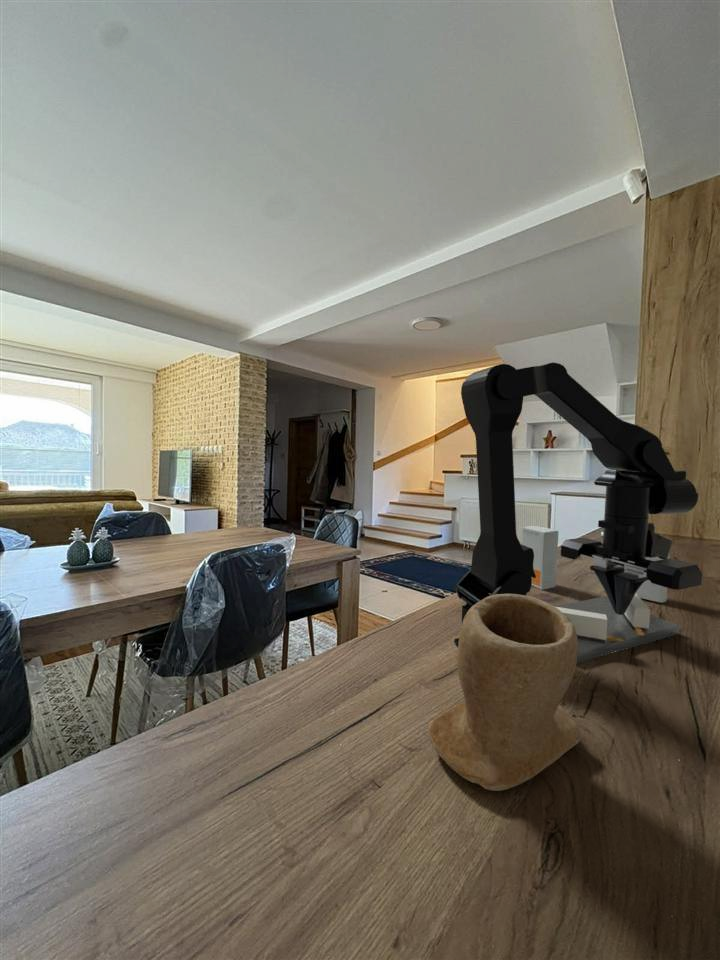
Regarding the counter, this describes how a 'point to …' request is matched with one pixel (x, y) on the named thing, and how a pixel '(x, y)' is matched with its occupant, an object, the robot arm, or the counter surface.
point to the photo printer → (652, 588)
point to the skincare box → (542, 554)
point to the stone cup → (509, 692)
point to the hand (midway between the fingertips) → (619, 613)
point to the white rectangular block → (587, 623)
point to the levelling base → (617, 630)
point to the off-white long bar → (638, 613)
